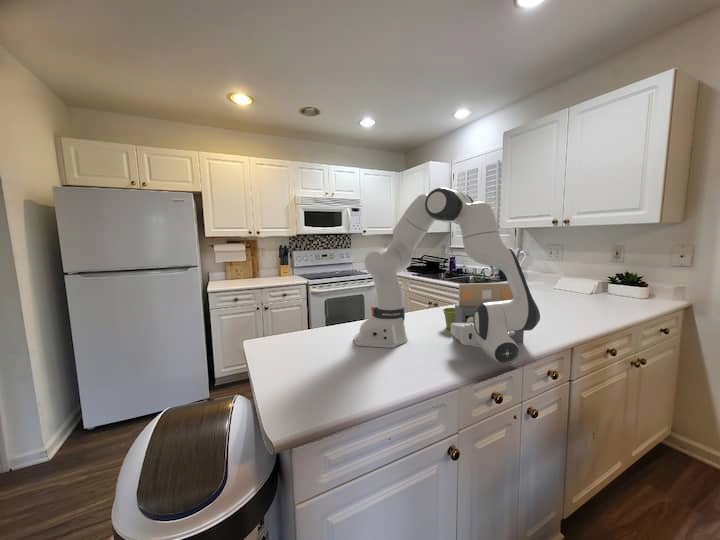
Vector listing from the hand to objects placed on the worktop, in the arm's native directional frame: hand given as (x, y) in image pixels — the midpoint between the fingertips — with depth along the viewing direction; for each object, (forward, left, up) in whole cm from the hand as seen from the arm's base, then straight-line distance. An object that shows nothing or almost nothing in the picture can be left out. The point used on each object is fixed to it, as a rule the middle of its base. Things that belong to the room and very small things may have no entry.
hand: (472, 323), depth 115 cm
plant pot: (-2, +21, -9) cm, 23 cm away
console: (+8, +6, -9) cm, 13 cm away
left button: (0, +2, -2) cm, 3 cm away
